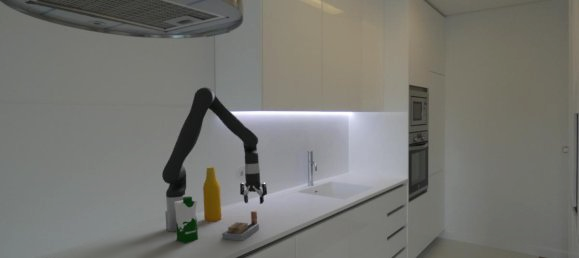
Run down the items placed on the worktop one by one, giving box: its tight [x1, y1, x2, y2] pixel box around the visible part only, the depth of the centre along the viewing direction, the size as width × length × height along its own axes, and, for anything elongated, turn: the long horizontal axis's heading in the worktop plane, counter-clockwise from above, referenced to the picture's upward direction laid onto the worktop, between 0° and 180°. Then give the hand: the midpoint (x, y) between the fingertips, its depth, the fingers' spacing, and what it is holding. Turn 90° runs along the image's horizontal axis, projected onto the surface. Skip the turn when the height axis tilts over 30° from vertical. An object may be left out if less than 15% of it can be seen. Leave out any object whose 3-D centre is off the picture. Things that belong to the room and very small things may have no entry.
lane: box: [221, 223, 260, 241], centre depth 171 cm, size 10×17×2 cm, turn 159°
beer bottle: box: [202, 166, 222, 223], centre depth 196 cm, size 9×9×29 cm
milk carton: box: [174, 196, 199, 244], centre depth 165 cm, size 9×9×20 cm
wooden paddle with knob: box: [227, 210, 258, 234], centre depth 175 cm, size 6×23×7 cm, turn 160°
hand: (254, 203), depth 184 cm, fingers open, 8 cm apart
